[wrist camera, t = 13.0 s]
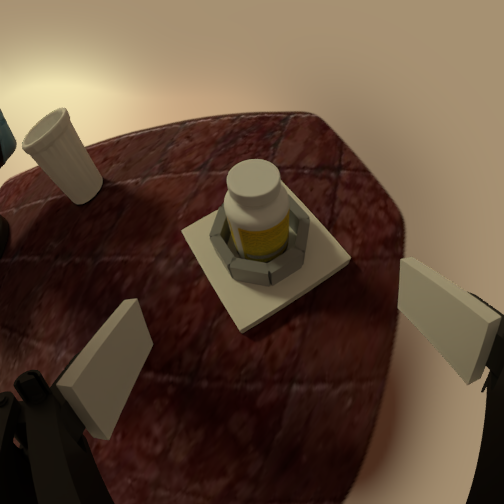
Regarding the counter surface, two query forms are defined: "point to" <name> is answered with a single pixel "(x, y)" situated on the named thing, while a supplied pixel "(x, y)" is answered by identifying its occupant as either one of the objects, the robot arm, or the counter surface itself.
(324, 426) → the counter surface
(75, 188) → the cup
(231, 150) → the counter surface
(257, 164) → the supplement bottle
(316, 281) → the holder
